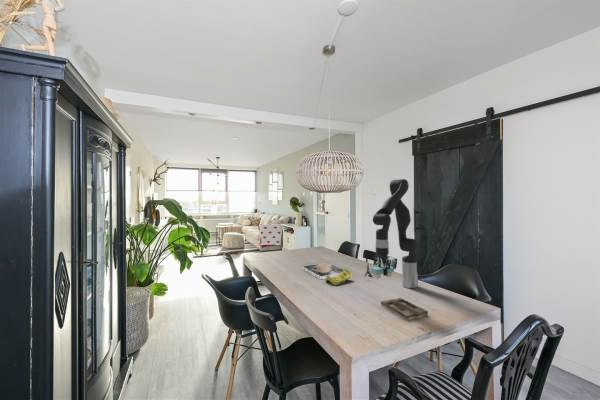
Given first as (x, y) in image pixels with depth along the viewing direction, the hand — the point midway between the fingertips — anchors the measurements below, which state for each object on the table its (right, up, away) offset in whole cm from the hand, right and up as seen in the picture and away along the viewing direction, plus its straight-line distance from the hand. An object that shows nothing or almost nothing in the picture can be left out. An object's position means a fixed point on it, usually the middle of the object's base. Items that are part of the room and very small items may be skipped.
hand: (382, 274), depth 162 cm
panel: (0, -1, 0) cm, 1 cm away
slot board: (+6, -15, -17) cm, 23 cm away
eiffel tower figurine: (+4, -16, +49) cm, 52 cm away
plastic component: (-21, -16, +35) cm, 44 cm away
